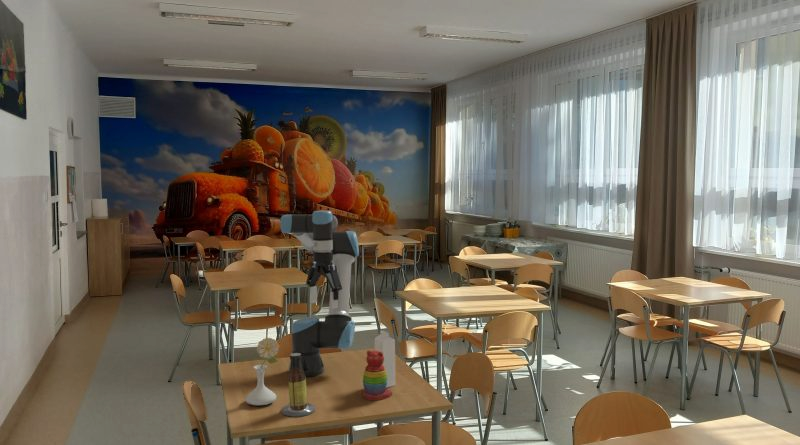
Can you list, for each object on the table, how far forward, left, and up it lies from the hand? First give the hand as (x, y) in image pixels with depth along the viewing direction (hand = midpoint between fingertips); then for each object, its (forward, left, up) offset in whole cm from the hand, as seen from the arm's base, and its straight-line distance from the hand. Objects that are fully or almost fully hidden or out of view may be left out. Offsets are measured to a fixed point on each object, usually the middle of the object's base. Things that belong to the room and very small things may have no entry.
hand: (324, 305), depth 247 cm
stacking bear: (+16, +12, -35) cm, 40 cm away
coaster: (+8, -18, -35) cm, 40 cm away
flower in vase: (-8, -23, -35) cm, 43 cm away
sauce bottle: (+8, -18, -34) cm, 39 cm away
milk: (+9, +23, -35) cm, 43 cm away
